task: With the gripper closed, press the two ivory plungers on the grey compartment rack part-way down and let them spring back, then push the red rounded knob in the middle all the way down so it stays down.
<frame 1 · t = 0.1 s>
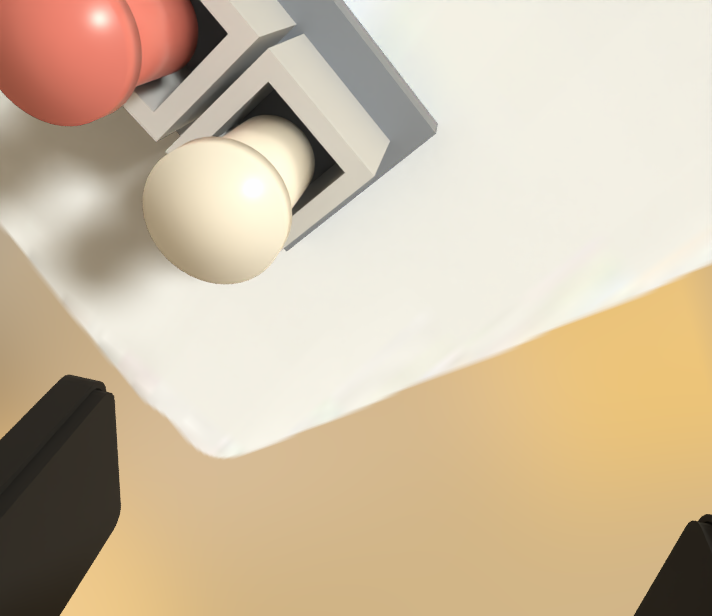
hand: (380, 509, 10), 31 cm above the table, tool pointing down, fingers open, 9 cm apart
ivory plunger 2: (245, 185, 27), point 13 cm above the table, slide at 0.0 cm
grey compartment rack: (218, 12, 37), on the table
red rounded knob: (107, 32, 25), point 13 cm above the table, slide at 0.0 cm
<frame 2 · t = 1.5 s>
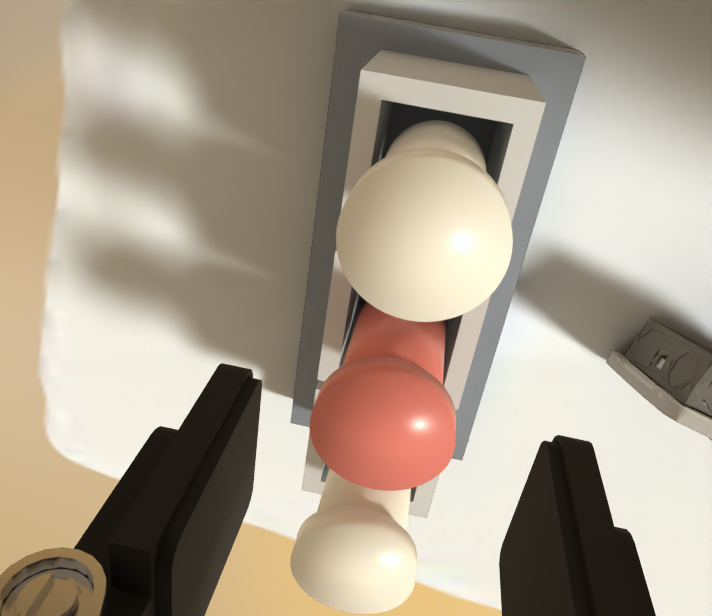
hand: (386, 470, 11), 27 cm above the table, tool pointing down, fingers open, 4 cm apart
electrical switch: (687, 353, 39), on the table
ivory plunger 1: (429, 203, 24), point 13 cm above the table, slide at 0.0 cm
ivory plunger 2: (364, 503, 31), point 13 cm above the table, slide at 0.0 cm
grey compartment rack: (414, 256, 39), on the table
red rounded knob: (392, 375, 27), point 13 cm above the table, slide at 0.0 cm
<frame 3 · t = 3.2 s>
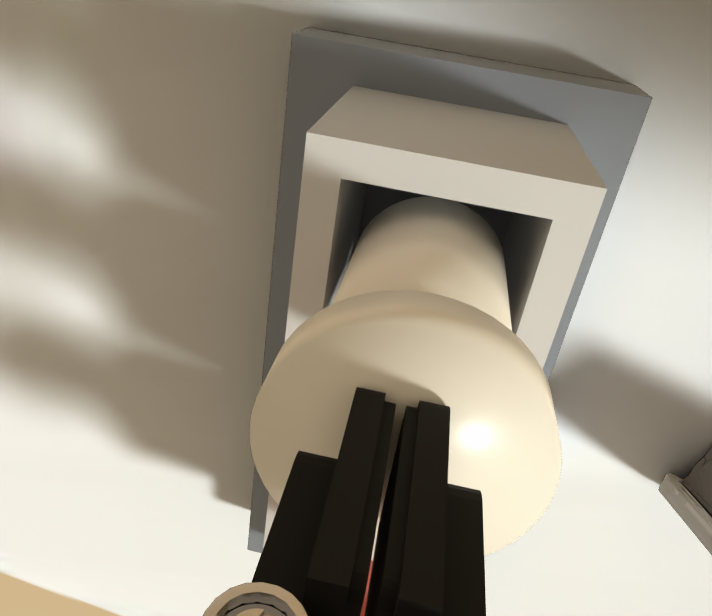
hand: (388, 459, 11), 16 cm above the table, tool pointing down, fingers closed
ivory plunger 1: (417, 341, 15), point 12 cm above the table, slide at 0.9 cm, touching gripper
grey compartment rack: (404, 350, 29), on the table
red rounded knob: (361, 590, 18), point 13 cm above the table, slide at 0.0 cm
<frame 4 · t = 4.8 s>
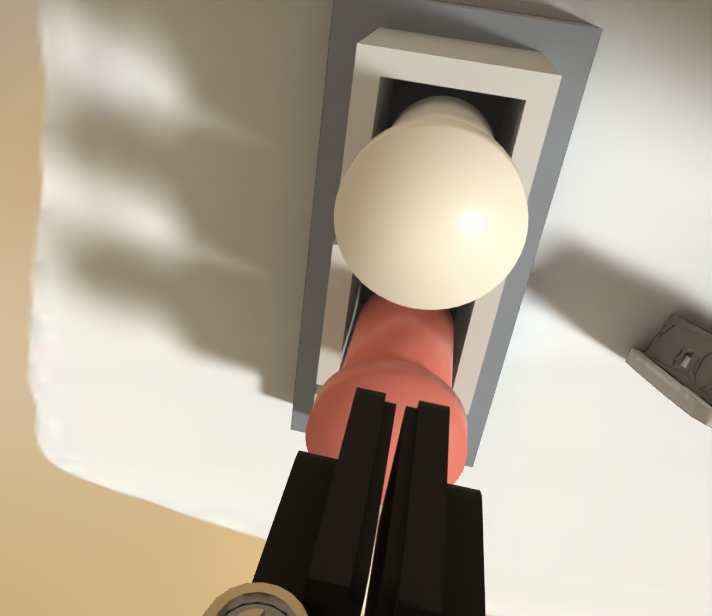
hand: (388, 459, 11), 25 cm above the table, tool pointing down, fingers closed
ivory plunger 1: (435, 182, 22), point 12 cm above the table, slide at 0.6 cm
ivory plunger 2: (369, 517, 29), point 13 cm above the table, slide at 0.0 cm
grey compartment rack: (418, 251, 36), on the table
red rounded knob: (396, 378, 25), point 13 cm above the table, slide at 0.0 cm
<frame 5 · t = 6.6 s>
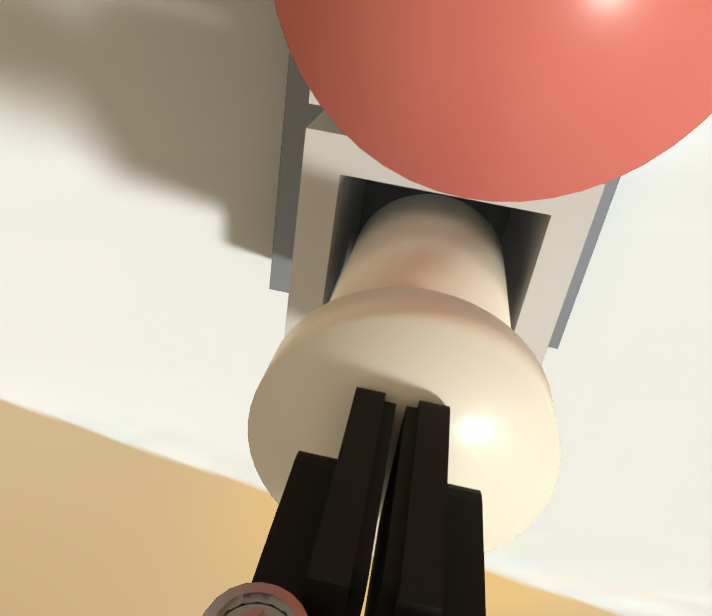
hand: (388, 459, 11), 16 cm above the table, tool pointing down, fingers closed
ivory plunger 2: (415, 338, 15), point 12 cm above the table, slide at 0.8 cm, touching gripper
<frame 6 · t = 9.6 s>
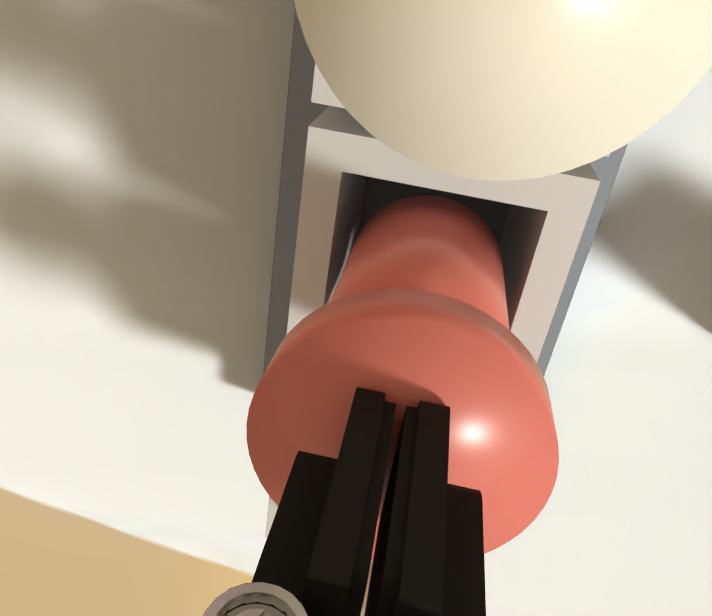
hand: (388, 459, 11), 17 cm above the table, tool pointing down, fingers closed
ivory plunger 2: (364, 557, 19), point 12 cm above the table, slide at 0.6 cm
grey compartment rack: (438, 181, 26), on the table
red rounded knob: (414, 339, 15), point 13 cm above the table, slide at 0.4 cm, touching gripper
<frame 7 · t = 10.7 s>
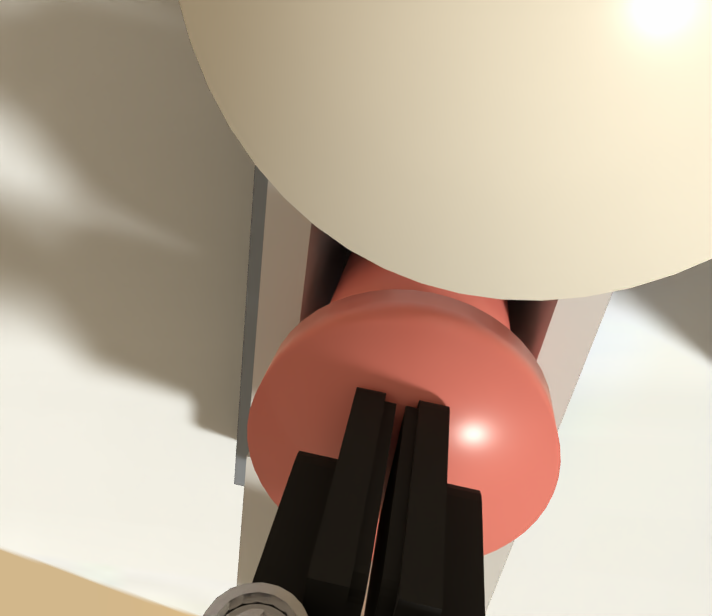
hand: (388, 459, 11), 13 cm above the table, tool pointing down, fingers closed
grey compartment rack: (434, 211, 23), on the table
red rounded knob: (415, 340, 15), point 9 cm above the table, slide at 4.0 cm, touching gripper
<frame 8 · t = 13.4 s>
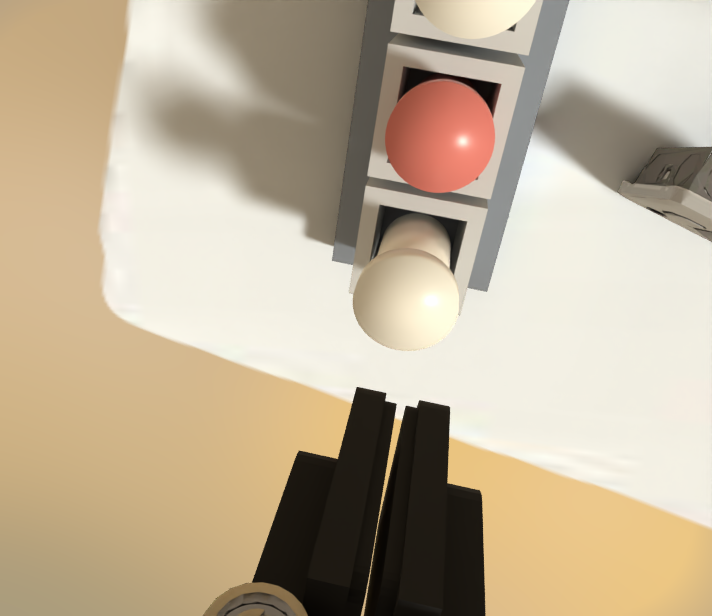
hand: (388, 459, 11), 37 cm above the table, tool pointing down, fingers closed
electrical switch: (690, 183, 44), on the table
ivory plunger 2: (411, 273, 37), point 12 cm above the table, slide at 0.6 cm
grey compartment rack: (446, 95, 44), on the table
red rounded knob: (442, 122, 36), point 9 cm above the table, slide at 4.0 cm
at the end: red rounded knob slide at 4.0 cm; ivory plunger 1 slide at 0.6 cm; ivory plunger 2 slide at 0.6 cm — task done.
